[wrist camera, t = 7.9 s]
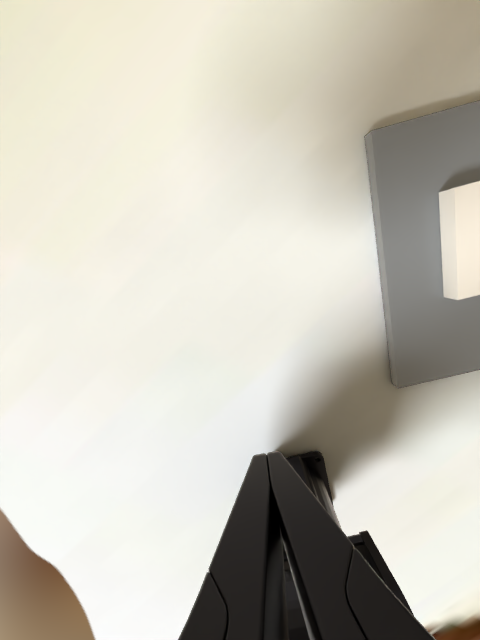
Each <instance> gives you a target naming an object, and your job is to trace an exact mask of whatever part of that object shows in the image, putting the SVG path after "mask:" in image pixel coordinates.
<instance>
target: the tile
mask: <svg viewBox="0 0 480 640" xmlns="http://www.w3.org/2000/svg"><path fill="white" fill-rule="evenodd" d="M439 210H440V231H441V252H442V273H443V294H444V297H445V298H450V299H455V300H461V299H465V298H469V297H473V296H477V295H480V181H478V182H474V183H470V184H467V185H463V186H459V187H455V188H452V189H449V190H445V191H442V192H439Z"/></svg>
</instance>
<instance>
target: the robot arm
mask: <svg viewBox="0 0 480 640" xmlns="http://www.w3.org/2000/svg"><path fill="white" fill-rule="evenodd" d="M317 457H319V458H317ZM178 640H436V639H435V638H434V637H433V636H432V635H431V634H430V633H429V632H428V631H427V630H426V629H425V628H424V627H423V626H422V625H421V624H420V622H419V621H418V620H417V619H416V618H415V617H414V615H413V613H412V611H411V609H410V607H409V605H408V603H407V601H406V599H405V597H404V595H403V593H402V591H401V589H400V588H399V586H398V584H397V582H396V580H395V579H394V577H393V575H392V573H391V572H390V570H389V568H388V566H387V565H386V563H385V561H384V559H383V557H382V556H381V554H380V552H379V550H378V549H377V547H376V545H375V543H374V542H373V540H372V538H371V536H370V535H369V533H368V531H363V532H359V534H357V535H353V536H348V537H347V536H346V535H345V534H344V532H343V531H342V529H341V526H340V524H339V521H338V519H337V516H336V513H335V511H334V508H333V502H332V497H331V492H330V488H329V483H328V478H327V473H326V468H325V463H324V458H323V456H322V454H321V453H320V452H318V451H315V452H311V453H306V454H302V455H297V456H293V457H288V458H285V457H284V456H283V455H282V453H281V452H280V451H275V452H269V453H267V455H266V454H265V453H263V454H258V455H254V456H253V458H252V460H251V463H250V466H249V468H248V471H247V473H246V476H245V478H244V481H243V483H242V486H241V488H240V491H239V493H238V496H237V498H236V501H235V503H234V506H233V508H232V511H231V514H230V516H229V519H228V521H227V524H226V526H225V529H224V531H223V534H222V536H221V539H220V541H219V544H218V546H217V549H216V551H215V554H214V556H213V559H212V562H211V564H210V567H209V572H207V574H206V576H205V579H204V581H203V584H202V586H201V589H200V592H199V594H198V596H197V599H196V601H195V603H194V606H193V608H192V610H191V613H190V615H189V617H188V620H187V622H186V624H185V626H184V628H183V630H182V633H181V635H180V637H179V639H178Z"/></svg>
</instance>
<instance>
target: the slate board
mask: <svg viewBox="0 0 480 640" xmlns="http://www.w3.org/2000/svg"><path fill="white" fill-rule="evenodd" d="M365 145H366V154H367V163H368V172H369V181H370V190H371V199H372V208H373V217H374V226H375V235H376V244H377V253H378V262H379V271H380V280H381V289H382V298H383V307H384V316H385V325H386V334H387V343H388V352H389V361H390V370H391V379H392V384H393V385H395V386H396V387H397V388H402V387H407V386H411V385H415V384H420V383H424V382H428V381H433V380H437V379H442V378H446V377H450V376H455V375H459V374H463V373H468V372H472V371H477V370H480V295H477V296H473V297H469V298H465V299H461V300H455V299H450V298H445V297H444V294H443V273H442V252H441V231H440V210H439V192H442V191H445V190H449V189H452V188H455V187H459V186H463V185H467V184H470V183H474V182H478V181H480V100H479V101H475V102H472V103H468V104H465V105H461V106H457V107H454V108H450V109H447V110H443V111H440V112H436V113H433V114H429V115H425V116H422V117H418V118H415V119H411V120H408V121H404V122H400V123H397V124H393V125H390V126H386V127H383V128H379V129H376V130H372V131H370V132H369V133H368V134H367V135H366V136H365Z"/></svg>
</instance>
